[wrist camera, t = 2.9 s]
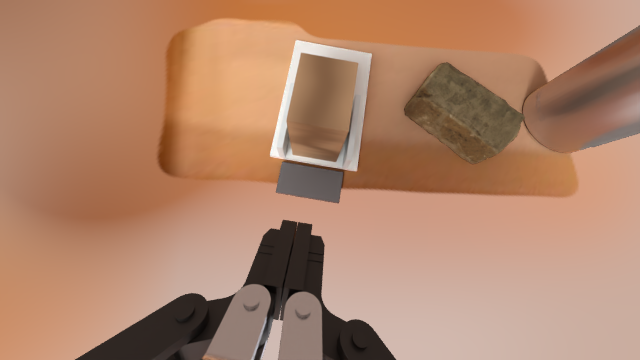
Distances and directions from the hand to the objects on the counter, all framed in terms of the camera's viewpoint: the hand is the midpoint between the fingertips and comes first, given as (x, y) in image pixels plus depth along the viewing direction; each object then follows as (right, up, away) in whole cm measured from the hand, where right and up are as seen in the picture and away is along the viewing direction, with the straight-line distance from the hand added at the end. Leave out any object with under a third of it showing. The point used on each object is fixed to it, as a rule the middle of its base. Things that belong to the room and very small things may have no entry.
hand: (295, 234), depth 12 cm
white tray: (+1, +10, +16) cm, 19 cm away
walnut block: (+1, +8, +15) cm, 17 cm away
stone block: (+17, +10, +17) cm, 26 cm away
